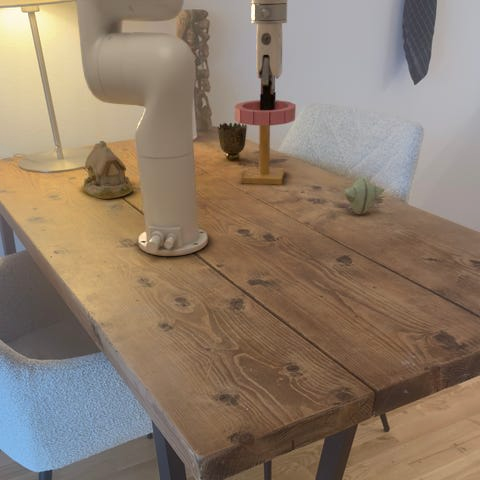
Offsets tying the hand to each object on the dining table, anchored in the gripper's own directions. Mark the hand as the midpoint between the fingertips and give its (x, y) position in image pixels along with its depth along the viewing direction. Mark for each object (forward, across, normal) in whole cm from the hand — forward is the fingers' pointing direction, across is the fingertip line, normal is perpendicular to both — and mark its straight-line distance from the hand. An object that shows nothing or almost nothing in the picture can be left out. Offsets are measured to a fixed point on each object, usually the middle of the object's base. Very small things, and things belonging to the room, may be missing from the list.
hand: (267, 112), depth 130 cm
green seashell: (+13, -29, -22) cm, 38 cm away
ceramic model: (+13, -18, +34) cm, 41 cm away
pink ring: (0, -6, 0) cm, 6 cm away
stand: (+13, -6, 0) cm, 14 cm away
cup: (+13, +10, +10) cm, 19 cm away
